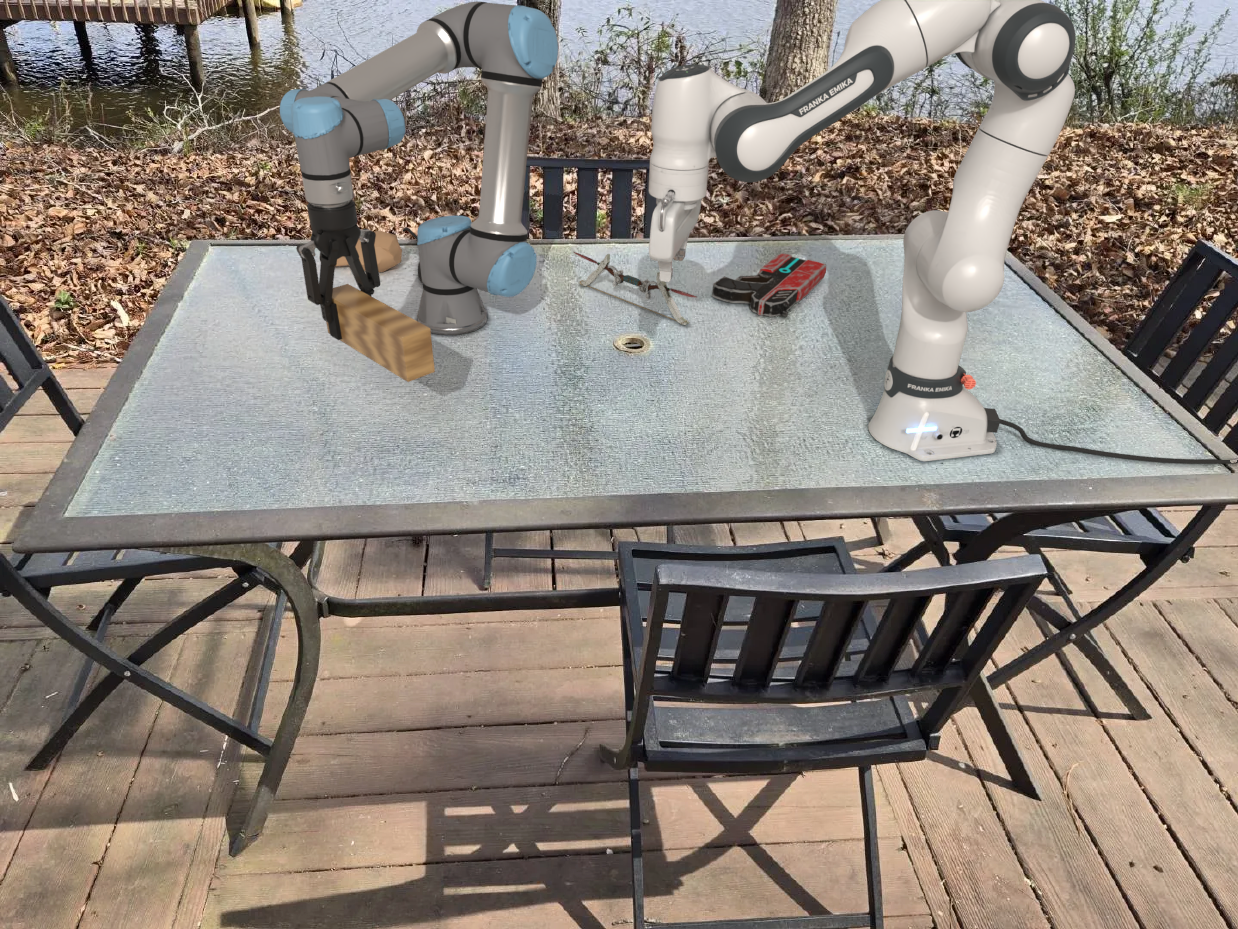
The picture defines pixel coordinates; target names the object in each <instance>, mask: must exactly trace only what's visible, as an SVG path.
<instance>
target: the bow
mask: <svg viewBox="0 0 1238 929" xmlns="http://www.w3.org/2000/svg"><path fill="white" fill-rule="evenodd" d="M573 254H574V255H577V256H578V257H580V258H582V259H584V260H586V261H588V262H590V263H593V264H596V265H597V268H595V270H593V271H592V272H591V273H590V274H589V275H588V276H587V278H586V280H583V279H582V280H579V281H578V284H579V285H580V286H583V287H589V288H591V289H593V290H596V291H599V292H600V293H604V294H606V295H609V296H612V297H614V298H617V299H619V300H621V301H625V302H626V303H629V304H632V305H634V306H637V307H640V308H642V309H645V310H647V311H650V312H652V313H655V314H657V315H659V316H662V317H665V318H667V319H670V320H672V321H675V322H677V323H678V324H680V325H682V326H687V325H688V324H690V321H689V320H687V318H685V317H683V316H682V315H681V312H680V309H679V307H678V305H677V303H676V302H675V300H674V298H673V297H672V295H671V293H670V292H672V293H674V294H678V295H680V296H684V297H688V298H698V296H697V295H693V294H692V293H689V292H685V291H683V290H681V289H677V288H672V287H671V288H670V287H668V285H667V282H663V281H660V279H659V274H660V271H657V272H656V278H655V279H656V281H655V280H651V281H650V280H649V278H646V279H645V280H641V279H640V278H637V277H635V276H632V275H629V274H626V275H625V274H624V270H623V269H620V270H618V269H617V268H616V267H615V266H614V265H612V264H611V265H610V262H611V254H610V253H607V254H605V255H604V258H603V259H602V260H601V261H600V262H598V261H596V260H595V259H593V258H591V257H589V256H588V255H587V256H586V255H584V254H582V253H579V252H576V251H573ZM606 271H607V272H608V273H609V274H610V275H611V276H612V277H613V282H612V287H613V288H616V287H619V285H621V284H624V283H628V284H630V285H633V286H636V287H638V290H639V292H640V293H642V294H645V295H644V296H645V298H644V299H645V300H651V299H652V293H651V291H653V290H659V292H660V293H661V295H662V297H663V298H664V301H665V303H666V305H667V307H668V309H669V311H670V313H671V315H672V316H673V318H672V317H670V316H667V315H664V314H662V313H660V312H657V311H654V310H652V309H649V308H646V307H644V306H642V305H638V304H636V303H634V302H631V301H628V300H626V299H623V298H621V297H618V296H616V295H613V294H611V293H609V292H606V291H604V290H601V289H598V288H596V287H593V286H590V285H591V284H594V283H595V281H596V280H597V279H598V278H599V277H600V276H601V275H602V274H603V273H604V272H606Z"/></svg>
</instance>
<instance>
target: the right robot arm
mask: <svg viewBox="0 0 1238 929" xmlns="http://www.w3.org/2000/svg"><path fill="white" fill-rule="evenodd" d="M1075 48H1076V29H1075V26H1074V23H1073V22H1072V19H1071V18H1070V17H1069V15H1068V14H1067V13H1066V12H1065V11H1064V10H1063V9H1061V8H1060V7H1058V6H1057V5H1055V4H1053V3H1049V2H1046V1H1044V0H879V1H877V2H876V3H875V4H872V6H871V7H869V8H867V10H865V11H864V12H863V13H861V15H860V16H858V17H857V18H856V19H855V20H854V21H853V22H852V23H851V25H850V26H849V29H848V31H847V33H846V37H845V40H844V46H843V49H842V52H841V54H840V55H839V58H838V59H837V61H835V63H834V64H833V65H831V67H830V68H829V69H827V70H826V71H825V72H823V73H821V74H820V75H818V76H817V77H815V78H814V79H812V80H810V81H809V82H807V83H806V84H804V85H803V86H801V87H799V88H798V89H796V90H794V91H793V92H792V93H790V94H789V95H786V96H785V97H784V98H782V99H780V100H778V101H775V102H767V101H766V100H765V99H764V98H763V97H761V96H760V95H759V94H757V93H756V92H754V91H752V90H749V89H746V88H743V87H740V86H738V85H735V84H733V83H731V82H729V81H728V80H726V79H724V78H723V77H721V76H719V75H718V74H717V73H716V72H714V71H713V70H712V68H711V67H710V66H709V65H705V64H701V63H700V64H694V63H691V64H684V65H679V66H674V67H672V68H670V69H667V70H666V71H665V72H663V73H662V75H661V76H660V77H659V78H658V80H657V82H656V85H655V90H654V96H653V101H652V102H653V103H652V112H651V124H650V127H651V128H650V133H651V138H652V150H651V153H650V157H649V168H648V169H649V172H648V174H649V175H648V194H649V195H650V196H651V197H653V198H655V199H656V200H655V204H656V206H655V207H654V209H653V212H652V216H651V222H650V230H649V243H648V256H649V259H650V260H651V261H654V262H657V266H658V270H659V272H660V274H659V279H660V281H663V282H665V283H669V282H671V280H672V279H673V275H674V274H673V273H674V268H673V261H678V262H682V261H684V259H685V258H686V252H687V246H688V241H689V237H690V234H691V232H692V231H693V229H694V228H695V226H696V225H697V223H698V221H699V216H700V213H701V206H702V200H703V198H705V197H706V196H707V191H708V181H709V172H710V171H709V168H710V166H709V164H710V160H711V159H713V158H716V160H717V162H718V165H719V166H720V168H721V169H722V171H723V172H724V173H725V174H726V175H727V176H728V177H730V178H731V179H734V180H735V181H737V182H742V183H757V182H762V181H764V180H766V179H768V178H770V177H772V176H774V174H776V173H777V172H778V171H779V170H780V169H781V168H782V167H783V166H784V165H785V164H786V162H787V161H788V159H790V157H791V156H792V155H793V154H794V153H795V151H796V150H797V149H798V148H800V147H801V146H802V145H803V144H805V143H806V142H807V141H809V140H810V139H812V138H813V137H814V136H817V134H819V133H821V132H822V131H824V130H825V129H828V127H830V126H832V125H834V124H835V123H837V122H838V121H840V120H841V119H843V118H845V117H846V116H847V115H849V114H851V113H853V112H854V111H856V110H857V109H858V108H860V107H861V106H863V105H865V104H866V103H867V102H869V101H870V100H871V99H873V98H874V97H876V96H878V95H879V94H881V93H882V92H884V91H886V90H888V89H890V88H891V87H893V86H895V85H897V84H899V83H900V82H902V81H905V80H906V79H909V78H910V77H912V76H914V75H916V74H917V73H919V72H921V71H923V70H924V69H926V68H928V67H930V66H932V65H933V64H935V63H936V62H938V61H940V60H941V59H943V58H944V57H949V56H951V55H954V54H955V56H956V57H957V59H958V60H959V61H960V62H961V63H962V64H963V65H964V66H965V67H967V68H969V69H971V70H973V71H974V72H976V73H977V74H978V75H980V76H982V77H983V78H985V79H987V80H990V81H993V82H994V91H993V97H992V101H991V103H990V107H989V109H988V111H987V112H986V114H985V116H984V117H983V119H982V121H981V123H980V125H979V127H978V129H977V130H976V133H975V135H974V136H973V138H972V140H971V142H970V145H969V146H968V148H967V150H966V152H965V154H964V156H963V158H962V160H961V162H960V164H959V166H958V167H957V170H956V172H955V174H954V177H953V180H952V193H951V199H950V203H949V207H948V211H944V210H938V209H937V210H936V209H934V210H928V211H925V212H923V213H921V214H919V215H918V216H916V217H915V218H914V219H912V221H911V222H910V223H909V224H908V226H907V227H906V229H905V232H904V234H903V240H902V241H903V243H902V245H903V255H904V256H903V257H904V258H903V275H902V292H901V293H902V294H901V312H900V321H899V328H898V331H897V336H896V341H895V346H894V350H893V354H892V356H891V357H890V358H889V362H888V366H887V369H886V372H885V376H884V384H883V389H884V390H883V392H882V395H881V397H880V400H879V403H878V405H877V408H876V410H875V412H874V414H873V416H872V418H871V419H870V421H869V422H868V425H867V428H868V432H869V434H870V435H871V436H872V437H873V439H875V440H876V441H877V442H878V443H880V444H881V445H883V446H885V447H887V448H889V449H892V450H894V451H897V452H901V453H903V454H906V455H909V456H910V457H912V458H913V459H915V460H918V461H920V462H931V461H940V460H947V459H957V458H964V457H973V456H982V455H989V454H990V455H991V454H995V452H996V449H997V446H998V445H997V438H996V436H995V434H997V433H998V431H999V427H1000V425H1003V426H1005V427H1009V428H1012V429H1014V430H1015V431H1016V432H1018V433H1019V434H1020V436H1021V438H1022V439H1023V440H1024V441H1025V442H1027V443H1029V444H1031V445H1034V446H1036V447H1037V446H1038V447H1041V448H1047V449H1053V450H1061V451H1069V452H1070V451H1071V452H1077V453H1081V454H1088V455H1095V456H1100V457H1107V458H1115V459H1122V460H1130V461H1140V462H1151V463H1163V464H1179V465H1180V464H1182V465H1183V464H1184V465H1228V464H1230V465H1231V464H1232V465H1233V464H1234V463H1231V462H1230V460H1218V459H1219V458H1173V457H1171V458H1170V457H1156V456H1144V455H1136V454H1128V453H1127V454H1126V453H1119V452H1110V451H1104V450H1098V449H1092V448H1085V447H1079V446H1075V445H1067V444H1055V443H1047V442H1043V441H1039V440H1035V439H1033V438H1031V437H1029V435H1028V434H1027V433H1026V431H1025V429H1023V427H1021V426H1020V425H1018V424H1016V423H1014V422H1011V421H1009V420H1005V419H1002V418H1000V417H999V414H998V412H997V410H996V408H991V407H990V408H989V407H984V406H983V404H982V403H981V402H980V400H979V399H978V398H977V397H976V396H975V395H974V394H972V392H971V391H969V390H973V389H974V388H975V387H976V385H977V381H976V379H975V378H973V375H970V374H967V372H966V370H965V369H964V368H963V367H962V366H961V365H960V362H961V359H962V354H963V351H964V347H965V345H966V344H965V343H966V339H967V336H968V333H969V332H968V331H969V323H968V317H967V316H968V315H967V314H968V313H971V312H972V313H973V312H976V311H980V310H982V309H984V308H986V307H987V306H989V305H990V304H992V303H993V302H994V301H995V300H996V298H998V296H999V295H1000V293H1001V291H1002V289H1003V286H1004V283H1005V262H1006V261H1005V260H1006V256H1007V252H1008V248H1009V245H1010V241H1011V238H1012V235H1013V231H1014V228H1015V226H1016V221H1017V219H1018V215H1019V213H1020V212H1021V211H1020V210H1021V208H1022V206H1023V203H1024V201H1025V199H1026V197H1027V196H1028V194H1029V192H1030V190H1031V189H1032V186H1033V184H1034V183H1035V181H1036V179H1037V177H1038V175H1039V173H1040V172H1041V170H1042V168H1043V166H1044V164H1045V162H1046V161H1047V159H1048V158H1049V155H1050V154H1051V152H1052V150H1053V148H1054V146H1055V145H1056V142H1057V140H1058V138H1059V136H1060V134H1061V132H1062V130H1063V128H1064V125H1065V123H1066V120H1067V117H1068V115H1069V113H1070V110H1071V107H1072V105H1073V102H1074V98H1075V94H1076V86H1075V83H1074V80H1073V79H1072V77H1071V76H1070V75H1069V72H1070V65H1071V64H1070V63H1071V62H1072V59H1073V56H1074V53H1075ZM1235 464H1238V460H1237V462H1236V463H1235Z"/></svg>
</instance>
